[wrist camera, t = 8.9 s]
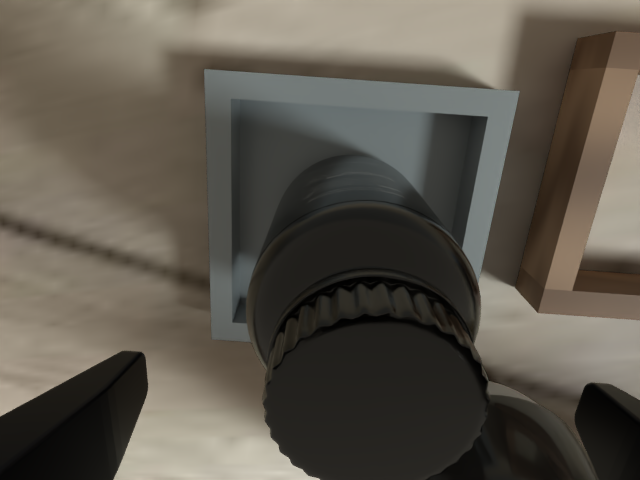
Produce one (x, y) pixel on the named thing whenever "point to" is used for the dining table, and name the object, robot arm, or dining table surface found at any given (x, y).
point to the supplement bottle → (366, 328)
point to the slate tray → (333, 140)
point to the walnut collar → (582, 186)
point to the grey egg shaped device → (521, 444)
